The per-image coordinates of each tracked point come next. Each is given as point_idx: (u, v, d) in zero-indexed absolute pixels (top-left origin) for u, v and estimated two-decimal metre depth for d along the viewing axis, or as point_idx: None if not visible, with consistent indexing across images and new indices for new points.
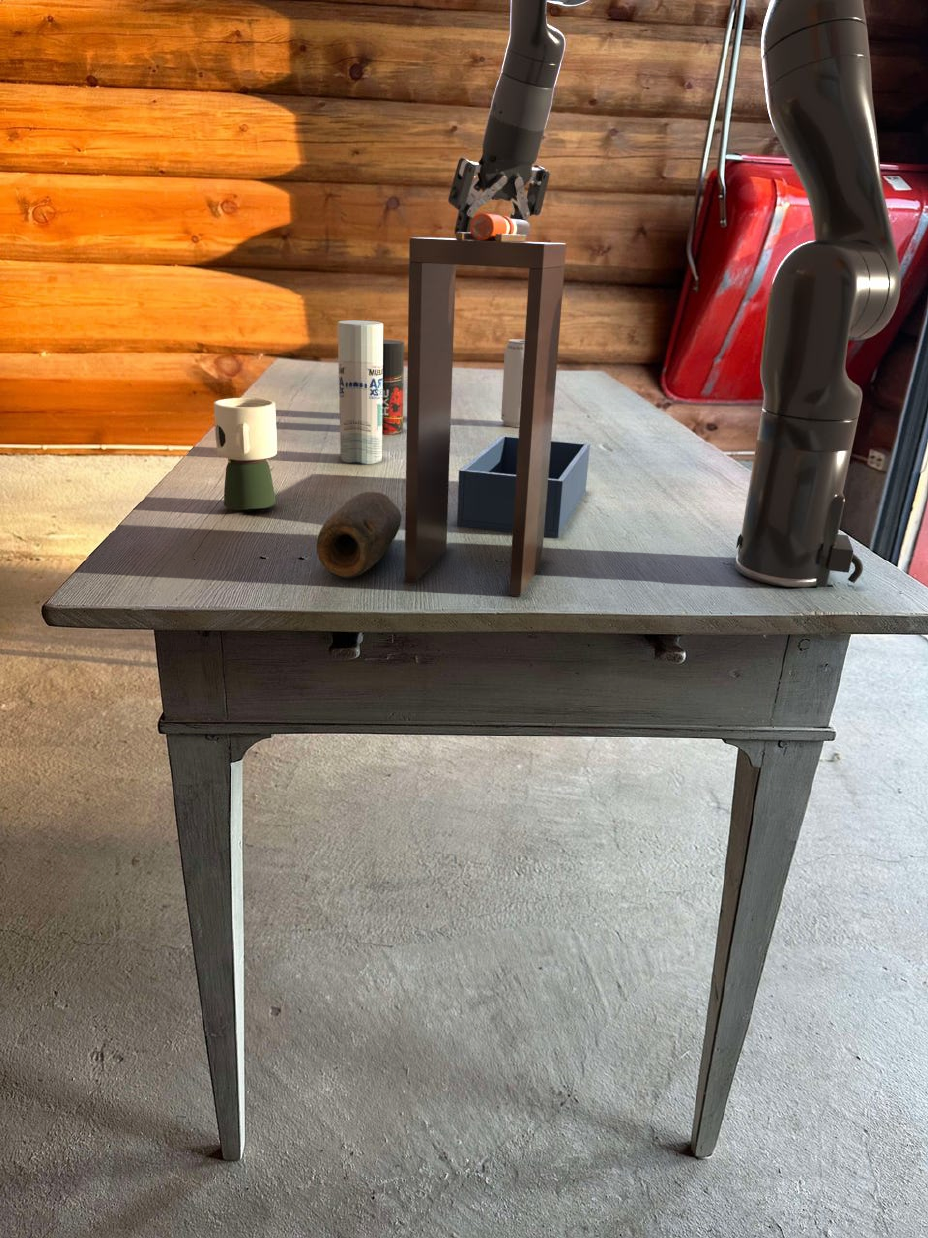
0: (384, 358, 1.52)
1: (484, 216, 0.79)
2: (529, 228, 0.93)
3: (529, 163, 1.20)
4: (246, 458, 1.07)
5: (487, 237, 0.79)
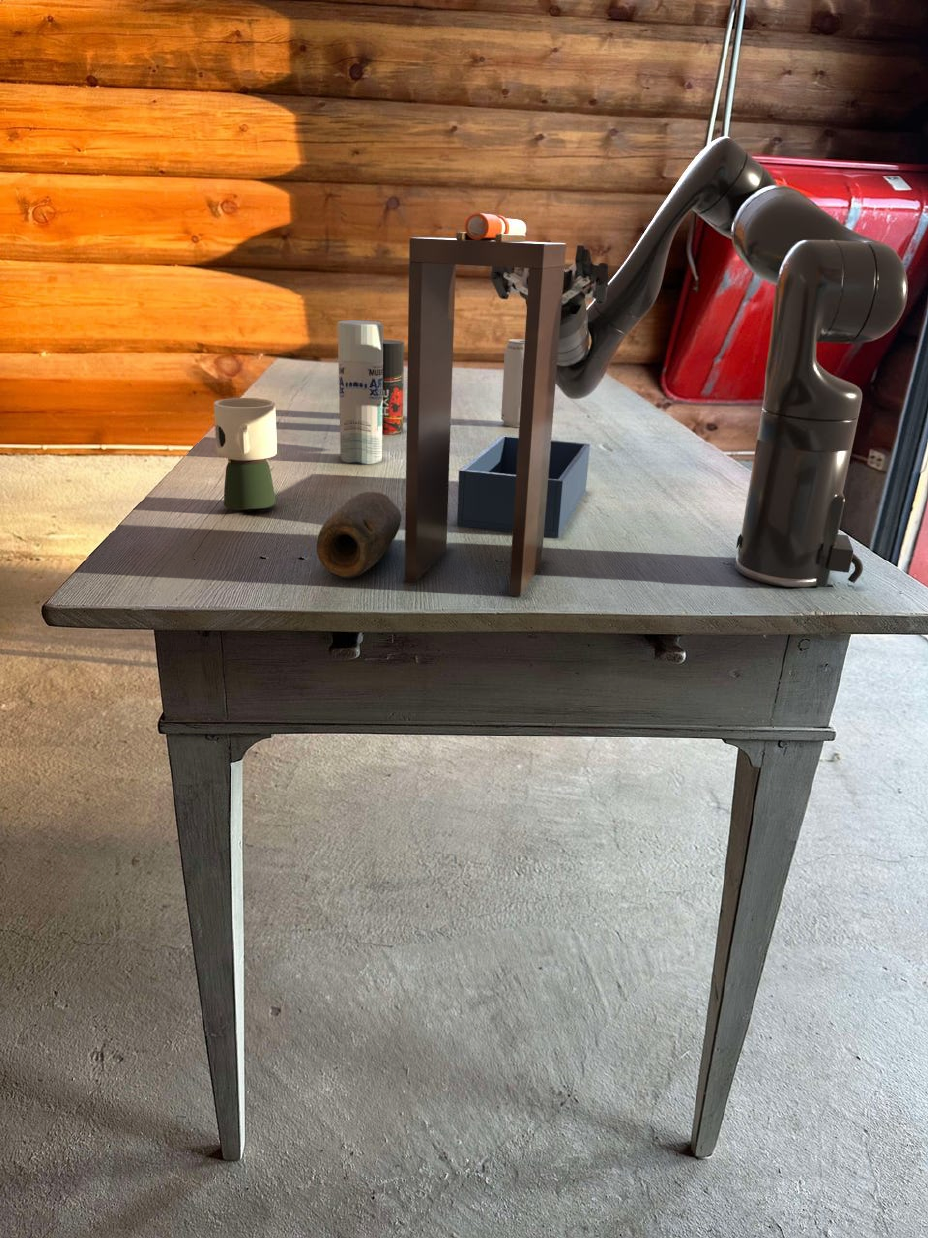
0: (384, 358, 1.52)
1: (475, 216, 0.79)
2: (524, 224, 0.93)
3: None
4: (246, 458, 1.07)
5: (485, 233, 0.79)
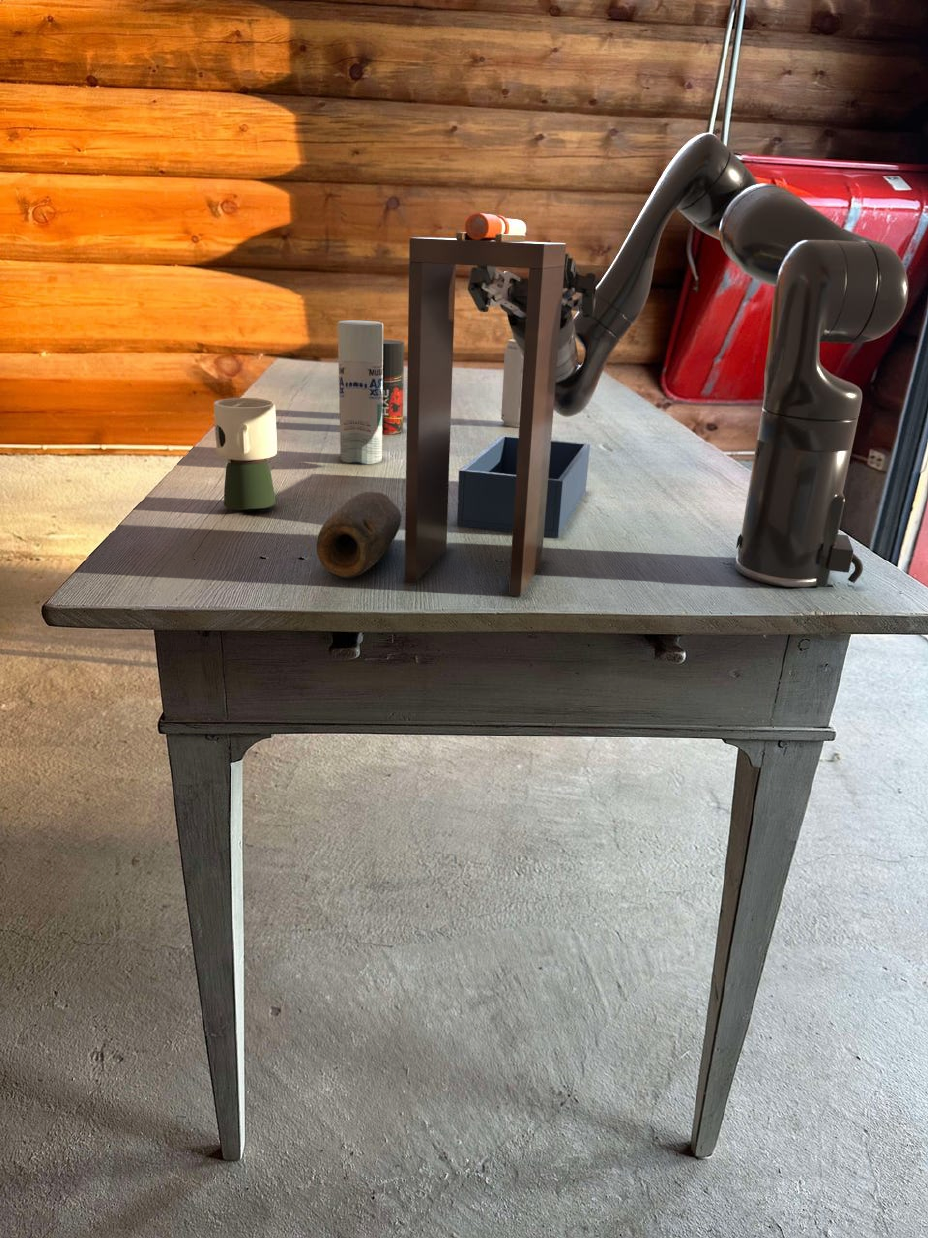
0: (384, 358, 1.52)
1: (475, 216, 0.79)
2: (524, 224, 0.93)
3: None
4: (246, 458, 1.07)
5: (485, 233, 0.79)
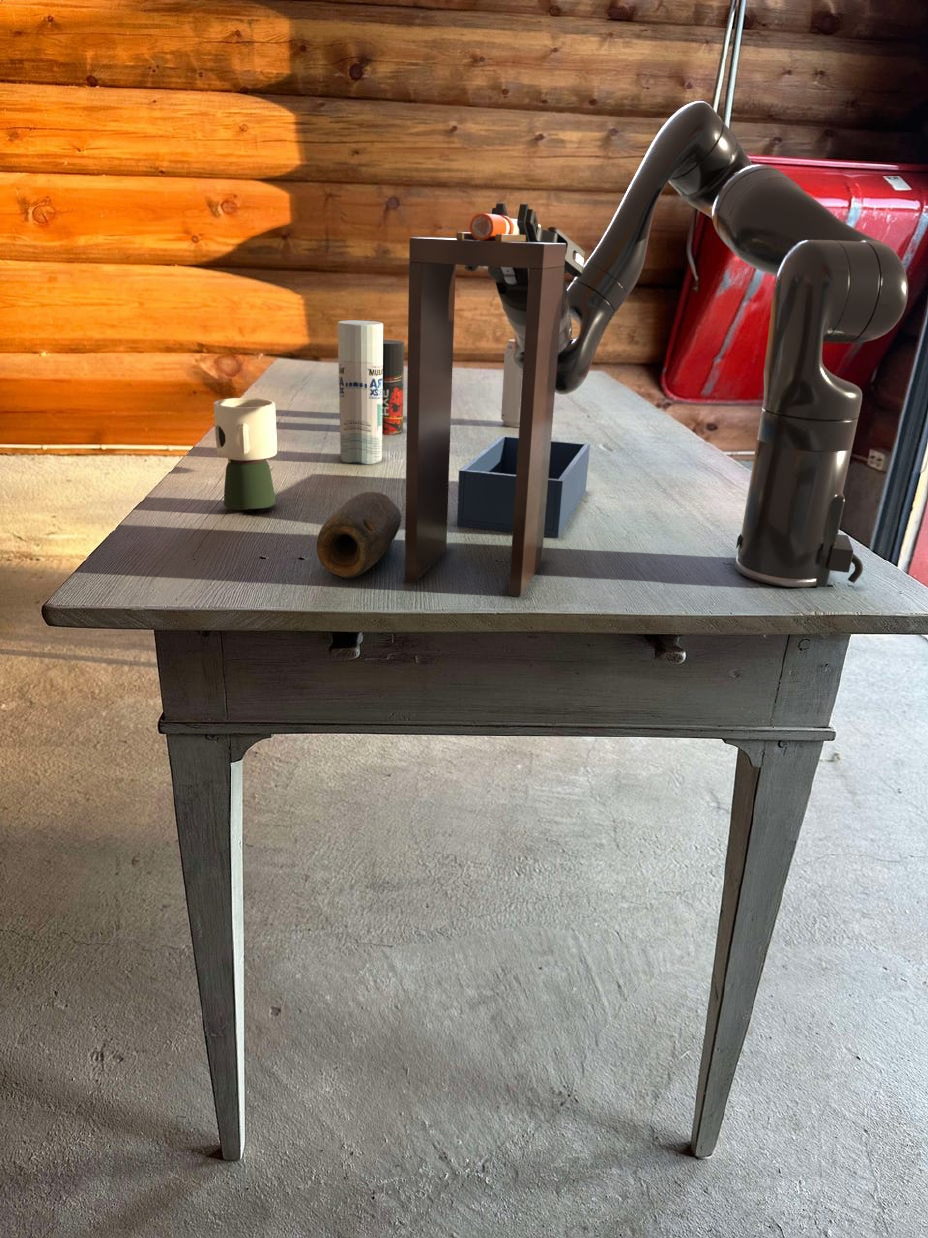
0: (384, 358, 1.52)
1: (484, 216, 0.79)
2: None
3: None
4: (246, 458, 1.07)
5: (487, 237, 0.79)
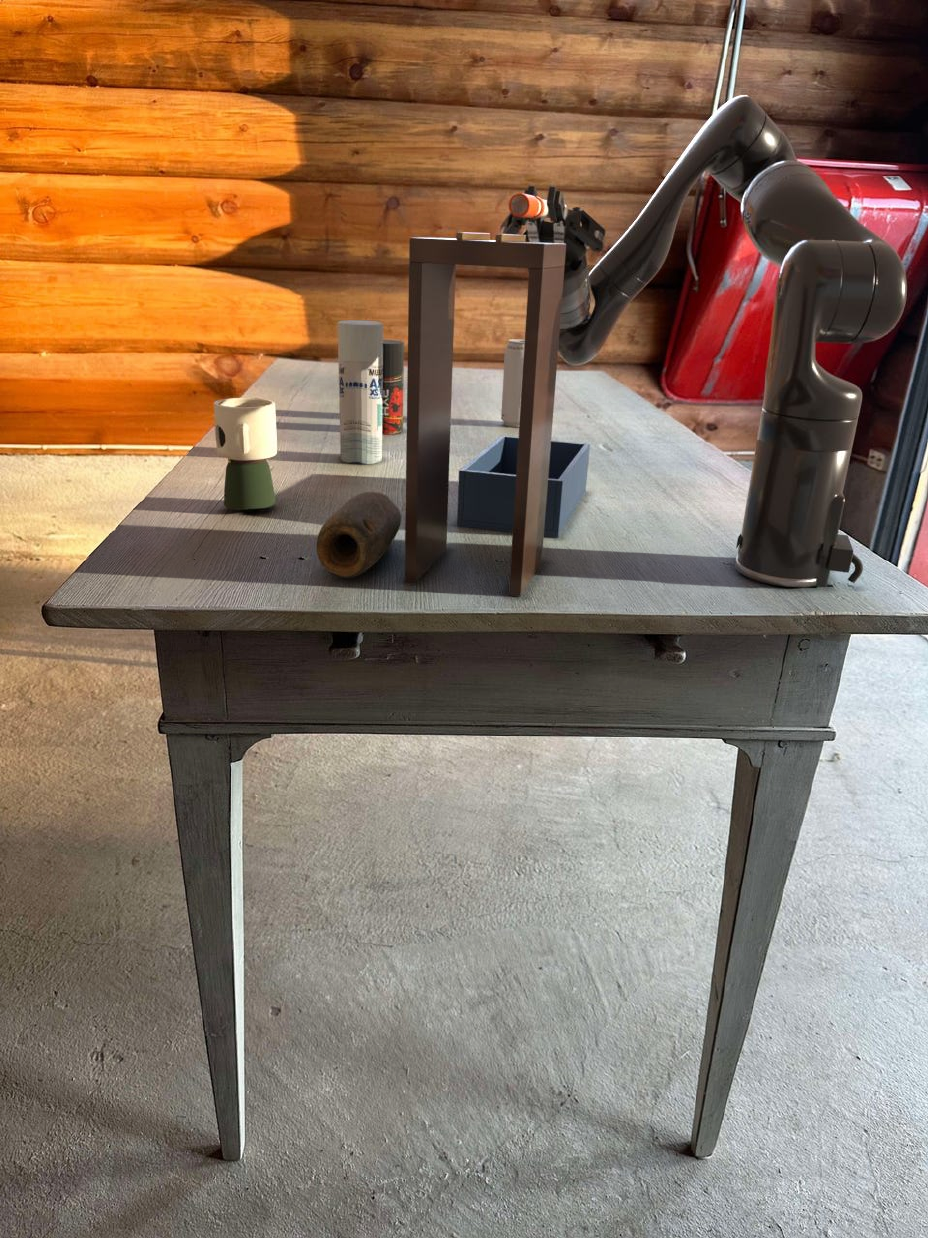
0: (384, 358, 1.52)
1: (521, 195, 0.91)
2: None
3: None
4: (246, 458, 1.07)
5: (523, 214, 0.92)
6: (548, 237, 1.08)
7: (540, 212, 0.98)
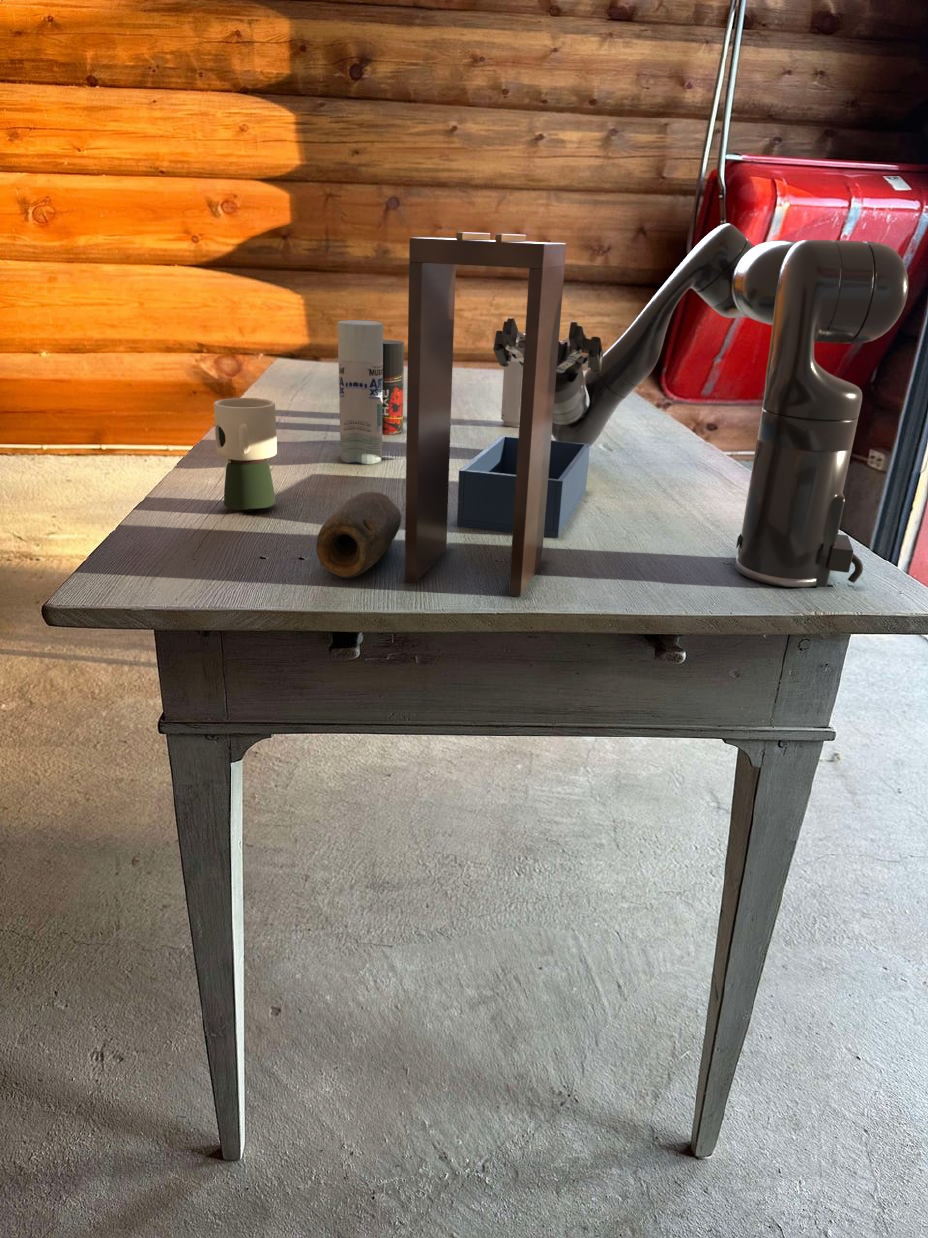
0: (384, 358, 1.52)
1: None
2: None
3: None
4: (246, 458, 1.07)
5: None
6: None
7: None
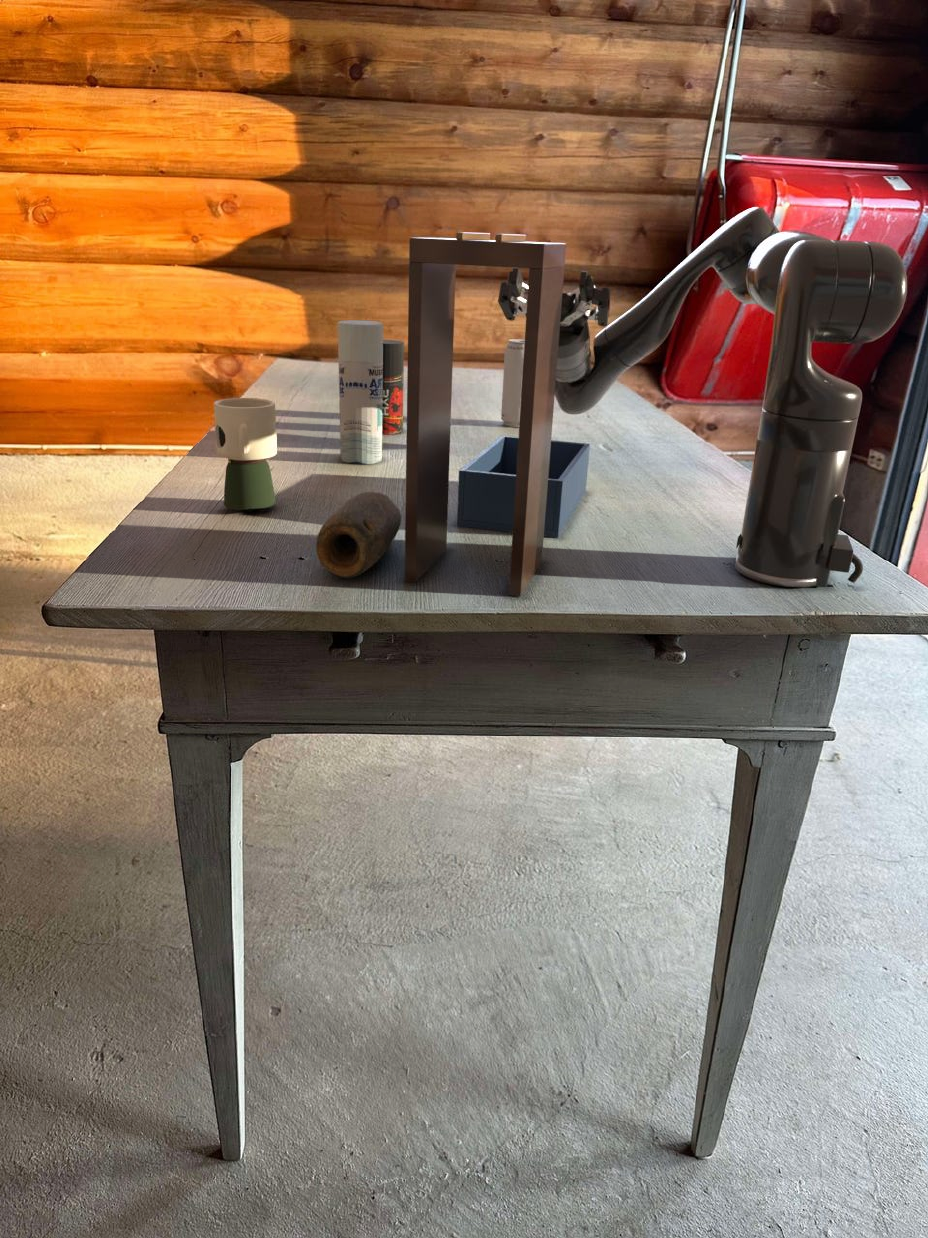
0: (384, 358, 1.52)
1: None
2: None
3: None
4: (246, 458, 1.07)
5: None
6: None
7: None
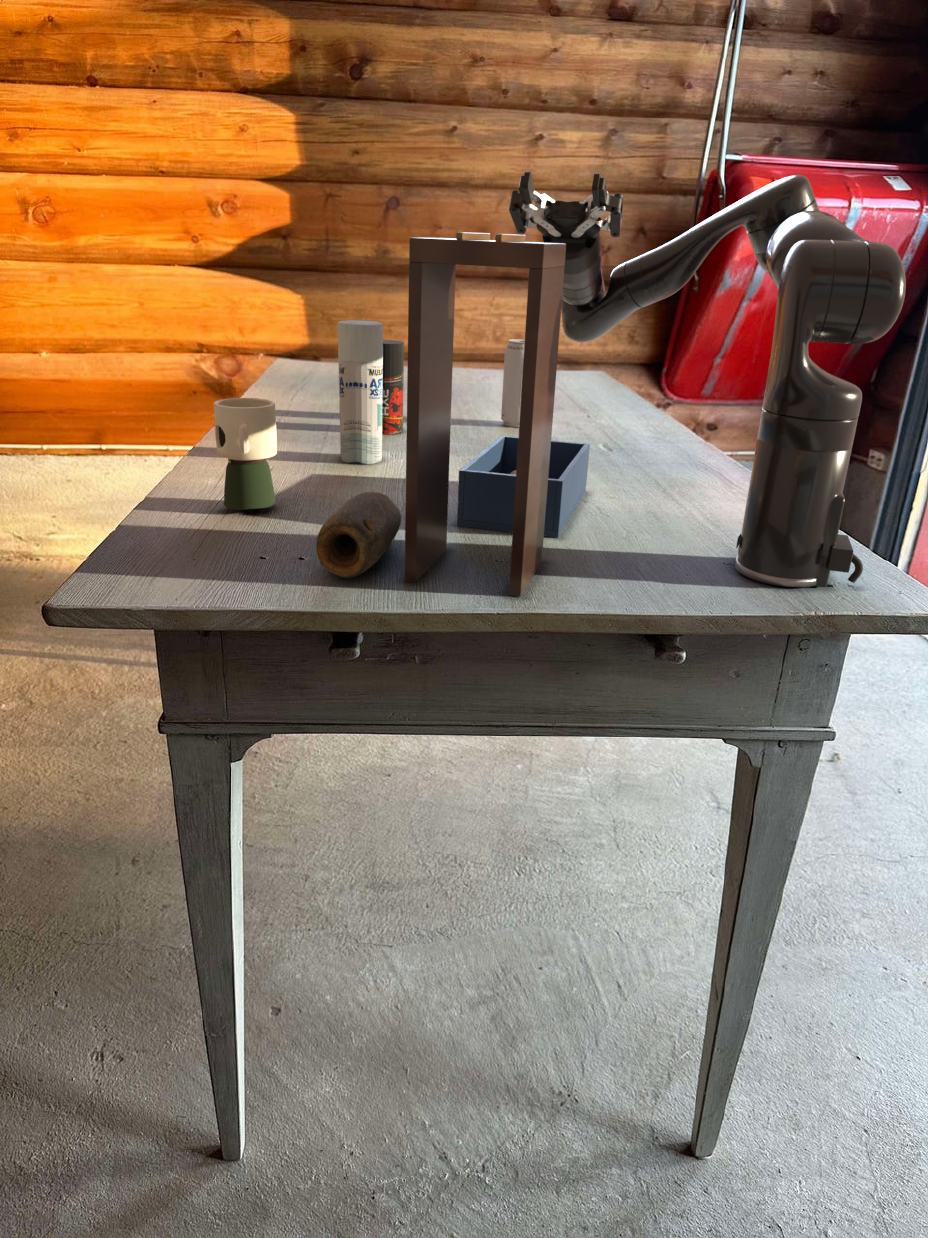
0: (384, 358, 1.52)
1: None
2: None
3: None
4: (246, 458, 1.07)
5: None
6: (565, 215, 1.16)
7: None
